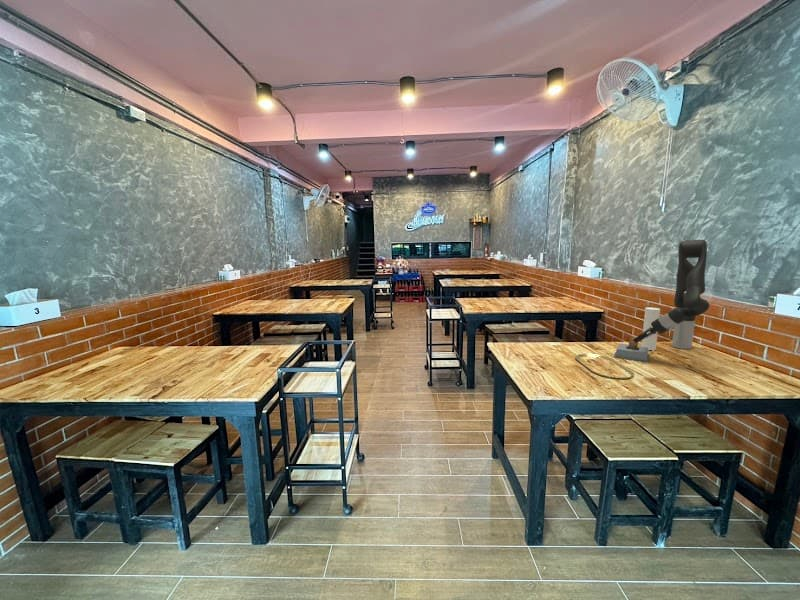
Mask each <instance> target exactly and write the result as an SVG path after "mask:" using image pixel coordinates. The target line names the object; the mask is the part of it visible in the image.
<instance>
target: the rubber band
mask: <svg viewBox="0 0 800 600" xmlns="http://www.w3.org/2000/svg"><path fill="white" fill-rule="evenodd" d="M587 356H588V357H587ZM589 356H590V357H589ZM596 357H599V358H598V359H601V358H603V359H602V360H605V359H606V360H605V361H607V360H609V361H611V362H613V363H614V364H616V365H617V366H619V367H620V368H619V367H618V368H619V369H621V368H622V369H624V370H625V371H624V370H623V371H624V372H626V373H627V372H628V373H627V374H628V375H629V374H630V375H631V376H630V375H629V376H630V377H629V376H622V377H621V376H612V375H606V374H602V373H601V372H597V371H595V370H593V369H591V368H590V367H589V366H588V365H586V364H585V363H583V362H582V361H581V360H580V358H596ZM575 359H576V360H577V362H579V363H581V365H583V367H586V368H587V369H588V370H590V371H591V372H593V374H595V373H596V375H597V374H598V376H600V375H601V377H603V376H605V377H604V378H608V377H609V379H613V378H615V379H616V380H628V379H631V378H633V377H634V375H635V373H634V371H632V370H631V369H630V368H628V367H626V366H624V365H623V364H621V363H619V362H617V360H615V359H613V358H610V357H609V356H605V355H600V354H592V353H582V354H581V353H580V354H576V355H575ZM609 361H608V362H609ZM611 362H610V363H611ZM613 363H612V364H613ZM614 364H613V365H614ZM616 365H615V366H616ZM617 366H616V367H617ZM622 369H621V370H622Z"/></svg>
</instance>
